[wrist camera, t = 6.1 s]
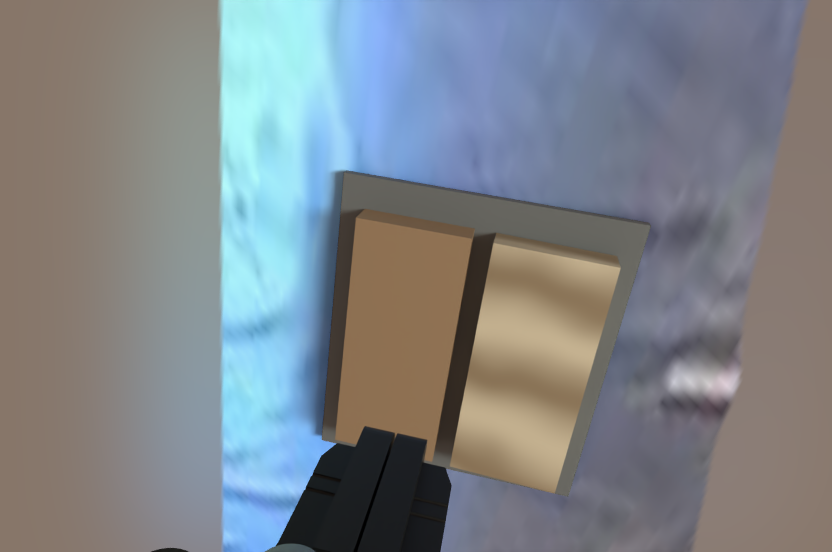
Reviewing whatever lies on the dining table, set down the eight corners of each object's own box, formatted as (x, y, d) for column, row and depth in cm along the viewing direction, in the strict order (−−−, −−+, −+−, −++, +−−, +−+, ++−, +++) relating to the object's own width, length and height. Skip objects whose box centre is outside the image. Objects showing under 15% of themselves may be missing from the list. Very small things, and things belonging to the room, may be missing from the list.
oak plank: (496, 232, 34) (493, 243, 32) (616, 255, 33) (620, 268, 31) (454, 447, 40) (449, 466, 38) (554, 472, 39) (554, 493, 37)
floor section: (346, 170, 35) (333, 179, 32) (648, 222, 33) (658, 236, 30) (324, 434, 43) (312, 457, 40) (567, 490, 41) (570, 518, 38)
